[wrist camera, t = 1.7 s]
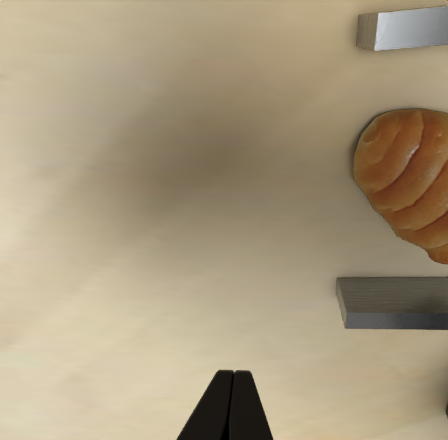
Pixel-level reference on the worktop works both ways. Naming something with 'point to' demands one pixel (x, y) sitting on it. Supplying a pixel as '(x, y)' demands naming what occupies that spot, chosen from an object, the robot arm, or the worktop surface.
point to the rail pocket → (397, 287)
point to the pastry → (408, 175)
